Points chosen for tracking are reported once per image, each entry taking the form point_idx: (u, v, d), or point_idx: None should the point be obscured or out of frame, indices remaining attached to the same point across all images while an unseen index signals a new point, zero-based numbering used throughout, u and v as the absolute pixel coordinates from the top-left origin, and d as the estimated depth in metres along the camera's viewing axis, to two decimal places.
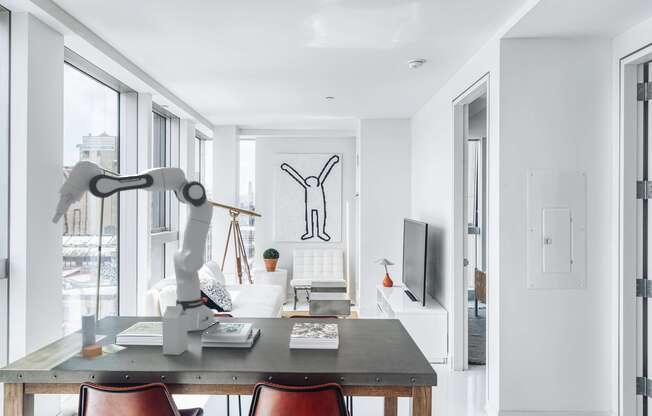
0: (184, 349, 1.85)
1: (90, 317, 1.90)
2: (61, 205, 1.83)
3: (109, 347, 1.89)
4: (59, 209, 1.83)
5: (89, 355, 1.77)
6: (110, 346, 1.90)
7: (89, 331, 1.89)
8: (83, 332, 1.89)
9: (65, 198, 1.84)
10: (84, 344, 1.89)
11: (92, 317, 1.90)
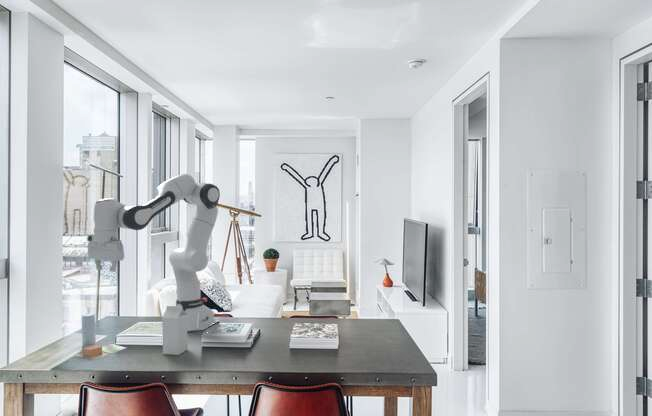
0: (184, 349, 1.85)
1: (90, 317, 1.90)
2: (117, 253, 1.80)
3: (109, 347, 1.89)
4: (118, 258, 1.80)
5: (89, 355, 1.77)
6: (110, 346, 1.90)
7: (89, 331, 1.89)
8: (83, 332, 1.89)
9: (116, 245, 1.81)
10: (84, 344, 1.89)
11: (92, 317, 1.90)
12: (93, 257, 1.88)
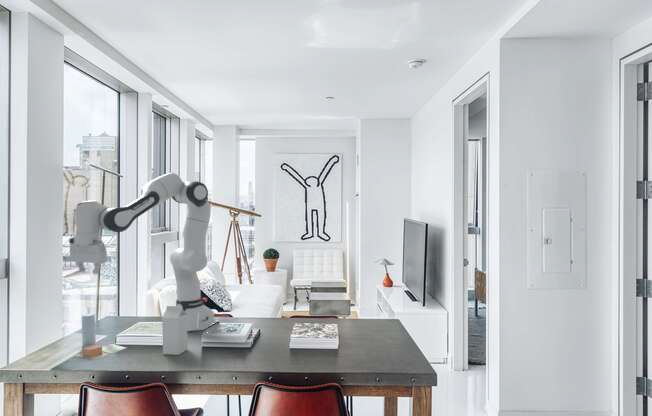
0: (184, 349, 1.85)
1: (90, 317, 1.90)
2: (100, 256, 1.80)
3: (109, 347, 1.89)
4: (101, 260, 1.80)
5: (89, 355, 1.77)
6: (110, 346, 1.90)
7: (89, 331, 1.89)
8: (83, 332, 1.89)
9: (99, 248, 1.80)
10: (84, 344, 1.89)
11: (92, 317, 1.90)
12: (75, 260, 1.87)
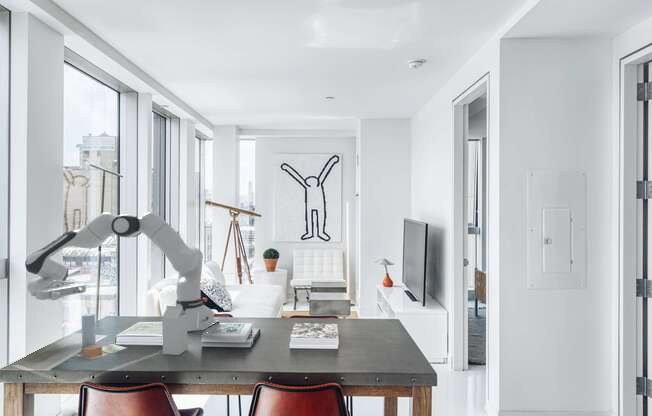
0: (184, 349, 1.85)
1: (90, 317, 1.90)
2: (37, 298, 1.92)
3: (109, 347, 1.89)
4: (40, 298, 1.91)
5: (89, 355, 1.77)
6: (110, 346, 1.90)
7: (89, 331, 1.89)
8: (83, 332, 1.89)
9: (35, 297, 1.95)
10: (84, 344, 1.89)
11: (92, 317, 1.90)
12: (77, 293, 2.05)
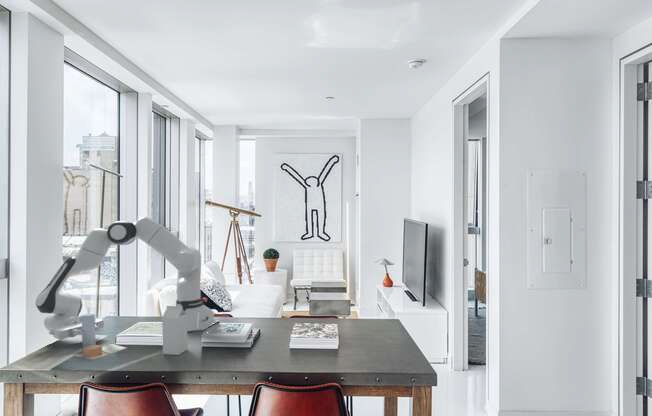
0: (184, 349, 1.85)
1: (90, 317, 1.90)
2: (56, 337, 1.86)
3: (109, 347, 1.89)
4: (58, 337, 1.85)
5: (89, 355, 1.77)
6: (110, 346, 1.90)
7: (89, 331, 1.89)
8: None
9: (53, 335, 1.89)
10: (84, 344, 1.89)
11: (92, 317, 1.90)
12: None
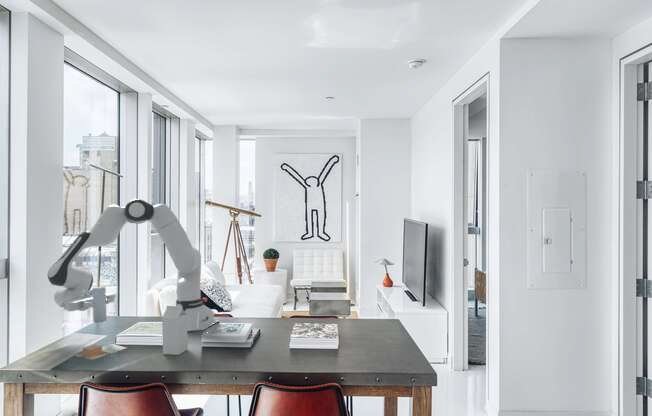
0: (184, 349, 1.85)
1: (101, 289, 1.87)
2: (66, 309, 1.84)
3: (109, 347, 1.89)
4: (69, 309, 1.83)
5: (89, 355, 1.77)
6: (110, 346, 1.90)
7: (100, 303, 1.87)
8: None
9: (64, 308, 1.86)
10: (95, 317, 1.87)
11: (103, 289, 1.88)
12: None
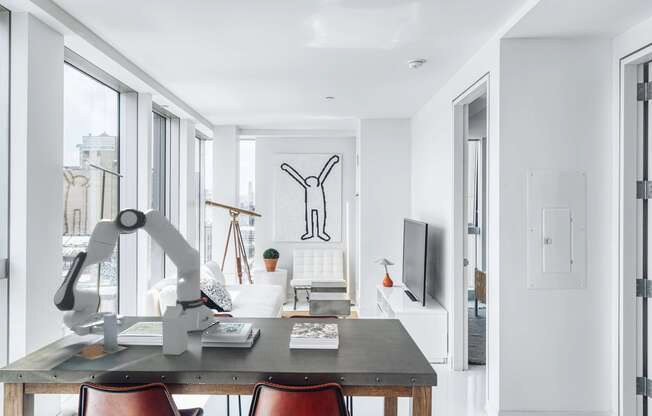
0: (184, 349, 1.85)
1: (112, 317, 1.85)
2: (77, 333, 1.82)
3: None
4: (79, 334, 1.81)
5: (89, 355, 1.77)
6: None
7: (111, 331, 1.85)
8: (105, 332, 1.85)
9: (74, 332, 1.84)
10: (106, 344, 1.85)
11: (114, 317, 1.86)
12: None
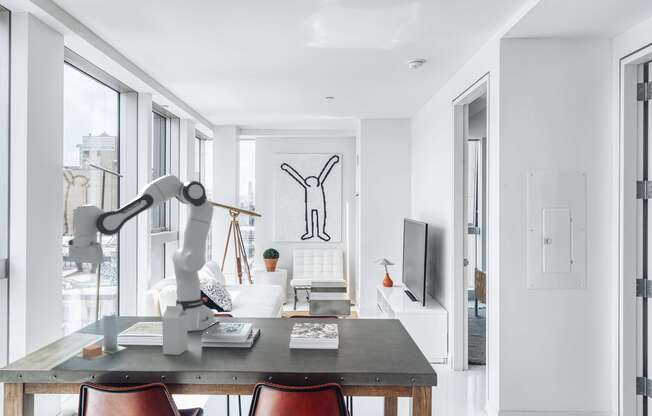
0: (184, 349, 1.85)
1: (111, 317, 1.85)
2: (97, 256, 1.92)
3: None
4: (98, 261, 1.92)
5: (89, 355, 1.77)
6: None
7: (110, 331, 1.85)
8: (104, 332, 1.85)
9: (96, 249, 1.92)
10: (106, 344, 1.85)
11: (113, 317, 1.86)
12: (74, 260, 1.99)
